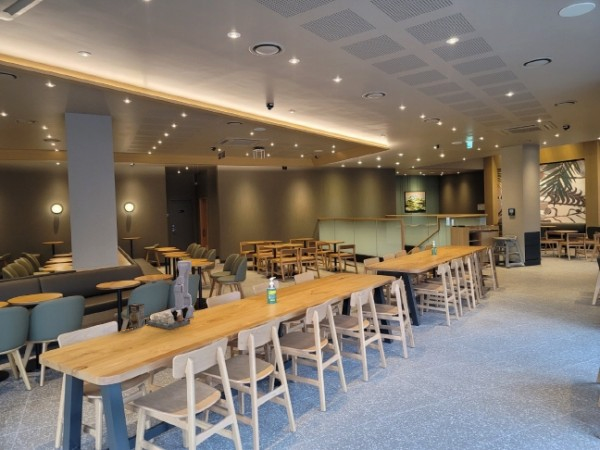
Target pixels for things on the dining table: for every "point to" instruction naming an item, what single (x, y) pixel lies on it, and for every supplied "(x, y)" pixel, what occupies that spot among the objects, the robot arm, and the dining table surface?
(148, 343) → the dining table surface
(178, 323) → the egg tray
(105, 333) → the dining table surface
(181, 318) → the terracotta egg
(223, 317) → the dining table surface
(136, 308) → the coffee box
